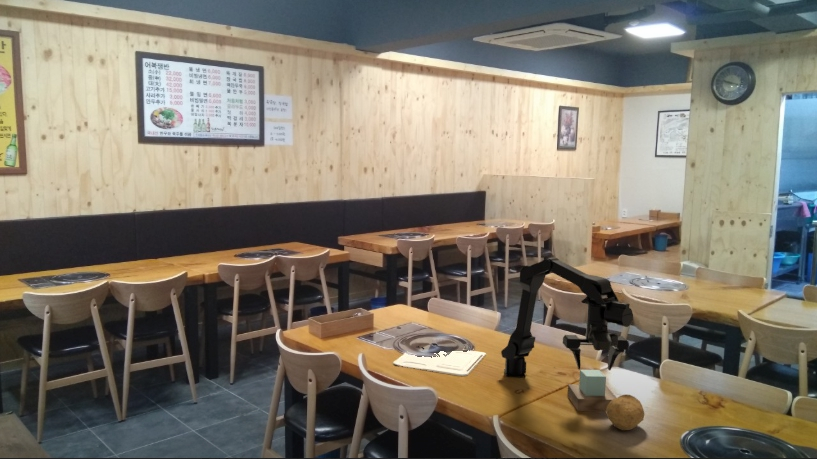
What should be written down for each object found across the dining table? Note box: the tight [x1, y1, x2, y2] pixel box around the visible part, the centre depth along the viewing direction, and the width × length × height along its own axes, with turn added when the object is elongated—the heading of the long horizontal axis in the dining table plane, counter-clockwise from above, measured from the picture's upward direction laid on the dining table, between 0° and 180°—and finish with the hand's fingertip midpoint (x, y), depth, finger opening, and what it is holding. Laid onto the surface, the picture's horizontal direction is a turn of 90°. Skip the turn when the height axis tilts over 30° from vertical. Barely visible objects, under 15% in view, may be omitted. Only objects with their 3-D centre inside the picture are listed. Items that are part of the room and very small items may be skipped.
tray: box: [392, 349, 487, 377], centre depth 222 cm, size 28×28×2 cm
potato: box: [605, 394, 646, 431], centre depth 166 cm, size 10×14×8 cm
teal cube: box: [578, 369, 607, 396], centre depth 182 cm, size 6×6×6 cm
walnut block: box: [567, 383, 617, 412], centre depth 183 cm, size 12×12×4 cm
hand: (594, 369), depth 182 cm, fingers open, 9 cm apart
